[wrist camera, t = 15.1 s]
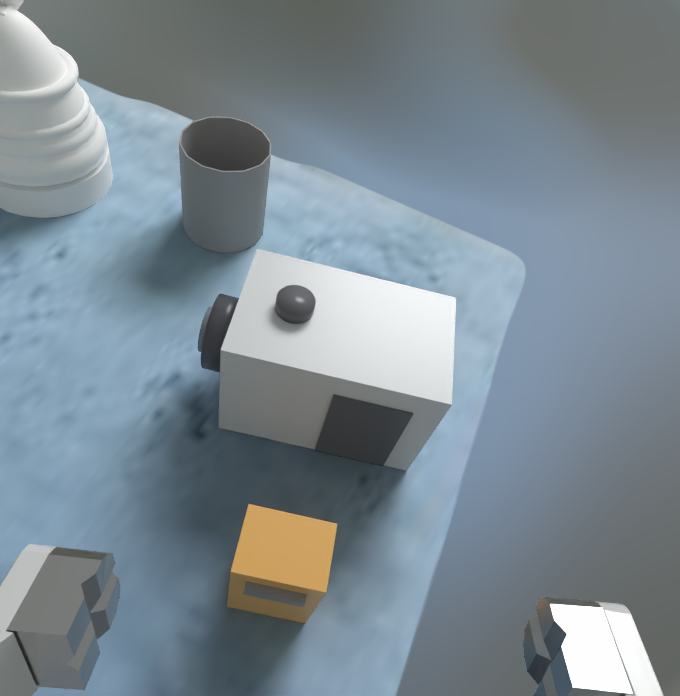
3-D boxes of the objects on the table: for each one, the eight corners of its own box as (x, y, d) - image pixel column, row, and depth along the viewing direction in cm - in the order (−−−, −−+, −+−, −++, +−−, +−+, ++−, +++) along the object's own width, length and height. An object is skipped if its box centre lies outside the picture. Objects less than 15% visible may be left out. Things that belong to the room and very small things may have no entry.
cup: (238, 264, 57) (243, 184, 49) (167, 232, 58) (161, 148, 50) (276, 217, 62) (286, 138, 54) (210, 188, 63) (210, 106, 55)
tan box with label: (303, 631, 39) (324, 601, 32) (224, 614, 38) (227, 581, 31) (315, 564, 41) (337, 523, 34) (241, 548, 41) (248, 503, 34)
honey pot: (8, 129, 63) (-51, -57, 48) (127, 151, 64) (104, -23, 50) (-45, 204, 55) (-134, 9, 41) (91, 227, 57) (52, 47, 42)
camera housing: (406, 472, 47) (456, 399, 38) (186, 422, 46) (180, 334, 37) (415, 373, 53) (460, 289, 44) (221, 327, 52) (224, 230, 43)
